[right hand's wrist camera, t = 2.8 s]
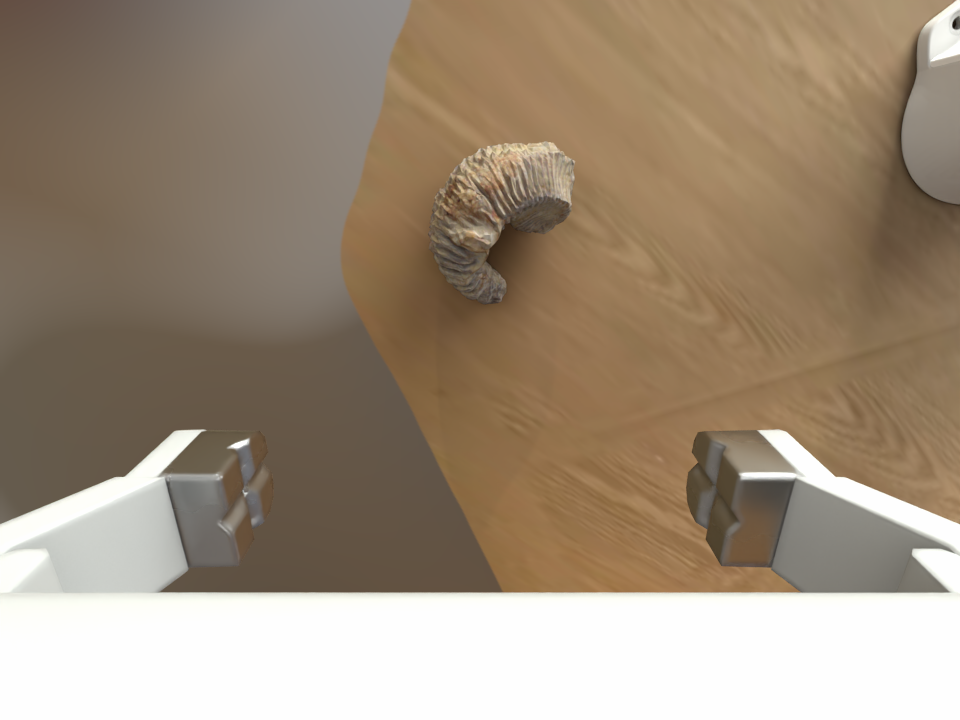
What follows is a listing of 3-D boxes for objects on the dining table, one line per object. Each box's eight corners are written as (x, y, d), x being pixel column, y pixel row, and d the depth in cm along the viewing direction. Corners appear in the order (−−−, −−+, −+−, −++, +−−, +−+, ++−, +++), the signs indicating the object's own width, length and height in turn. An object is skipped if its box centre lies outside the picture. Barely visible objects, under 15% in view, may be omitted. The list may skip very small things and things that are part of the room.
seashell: (546, 139, 47) (534, 81, 37) (608, 232, 46) (612, 198, 36) (422, 227, 49) (379, 194, 39) (478, 318, 48) (449, 308, 38)
